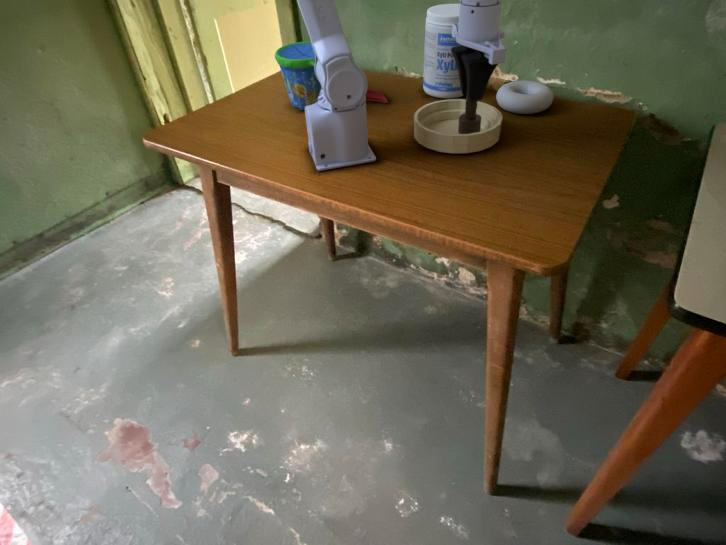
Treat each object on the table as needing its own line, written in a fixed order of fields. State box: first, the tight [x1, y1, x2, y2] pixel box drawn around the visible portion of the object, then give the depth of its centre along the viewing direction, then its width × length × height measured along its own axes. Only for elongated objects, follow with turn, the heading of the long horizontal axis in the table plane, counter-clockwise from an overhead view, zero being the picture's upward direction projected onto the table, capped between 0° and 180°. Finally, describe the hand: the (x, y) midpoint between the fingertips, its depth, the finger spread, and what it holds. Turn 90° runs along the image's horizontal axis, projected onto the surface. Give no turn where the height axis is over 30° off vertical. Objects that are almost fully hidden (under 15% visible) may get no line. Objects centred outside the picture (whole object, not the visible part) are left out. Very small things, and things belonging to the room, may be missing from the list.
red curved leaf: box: [365, 88, 389, 104], centre depth 96 cm, size 12×5×2 cm, turn 50°
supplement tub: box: [422, 3, 465, 100], centre depth 93 cm, size 10×10×15 cm
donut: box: [495, 79, 554, 115], centre depth 89 cm, size 10×3×10 cm
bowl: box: [413, 98, 504, 154], centre depth 81 cm, size 14×14×4 cm
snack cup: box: [274, 40, 322, 111], centre depth 93 cm, size 16×10×10 cm
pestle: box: [458, 95, 481, 134], centre depth 78 cm, size 4×4×10 cm
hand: (471, 96), depth 78 cm, fingers closed on pestle, 2 cm apart
